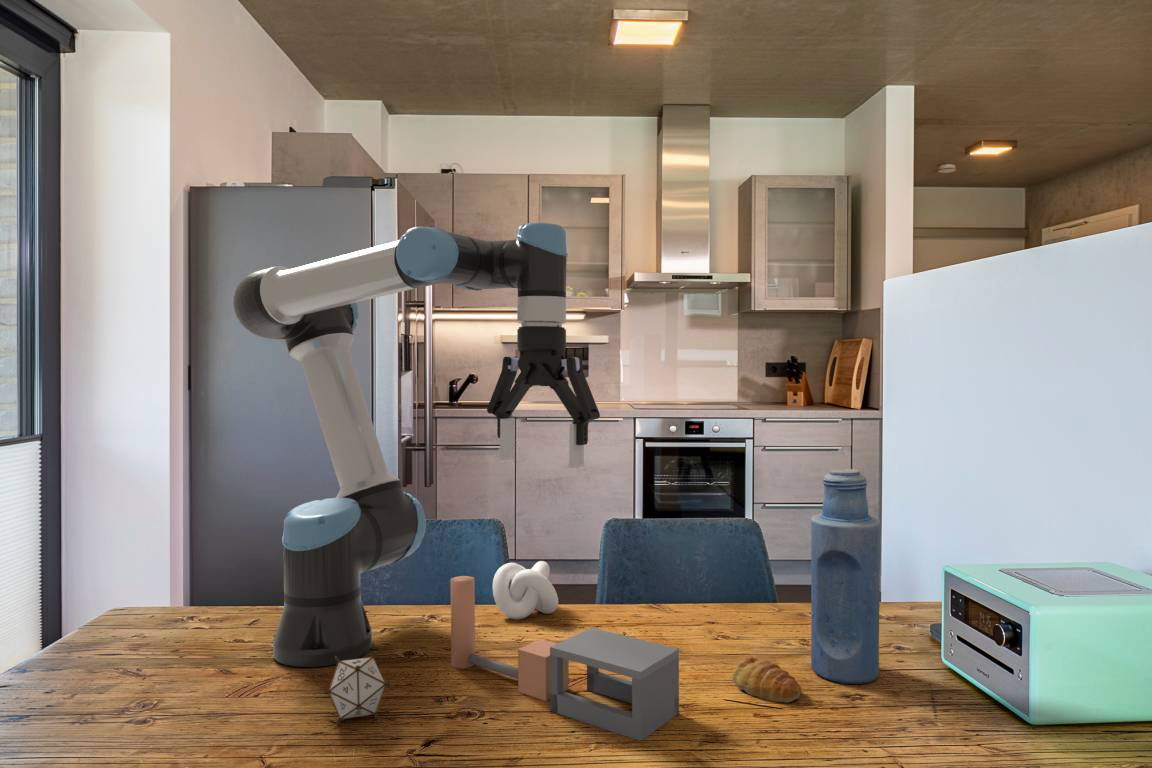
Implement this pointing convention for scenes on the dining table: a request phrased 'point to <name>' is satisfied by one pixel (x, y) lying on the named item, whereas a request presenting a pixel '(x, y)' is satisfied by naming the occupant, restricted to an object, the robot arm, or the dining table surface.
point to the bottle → (845, 582)
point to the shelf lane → (618, 681)
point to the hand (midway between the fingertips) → (540, 463)
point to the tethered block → (530, 660)
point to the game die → (356, 687)
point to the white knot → (524, 590)
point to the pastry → (766, 680)
